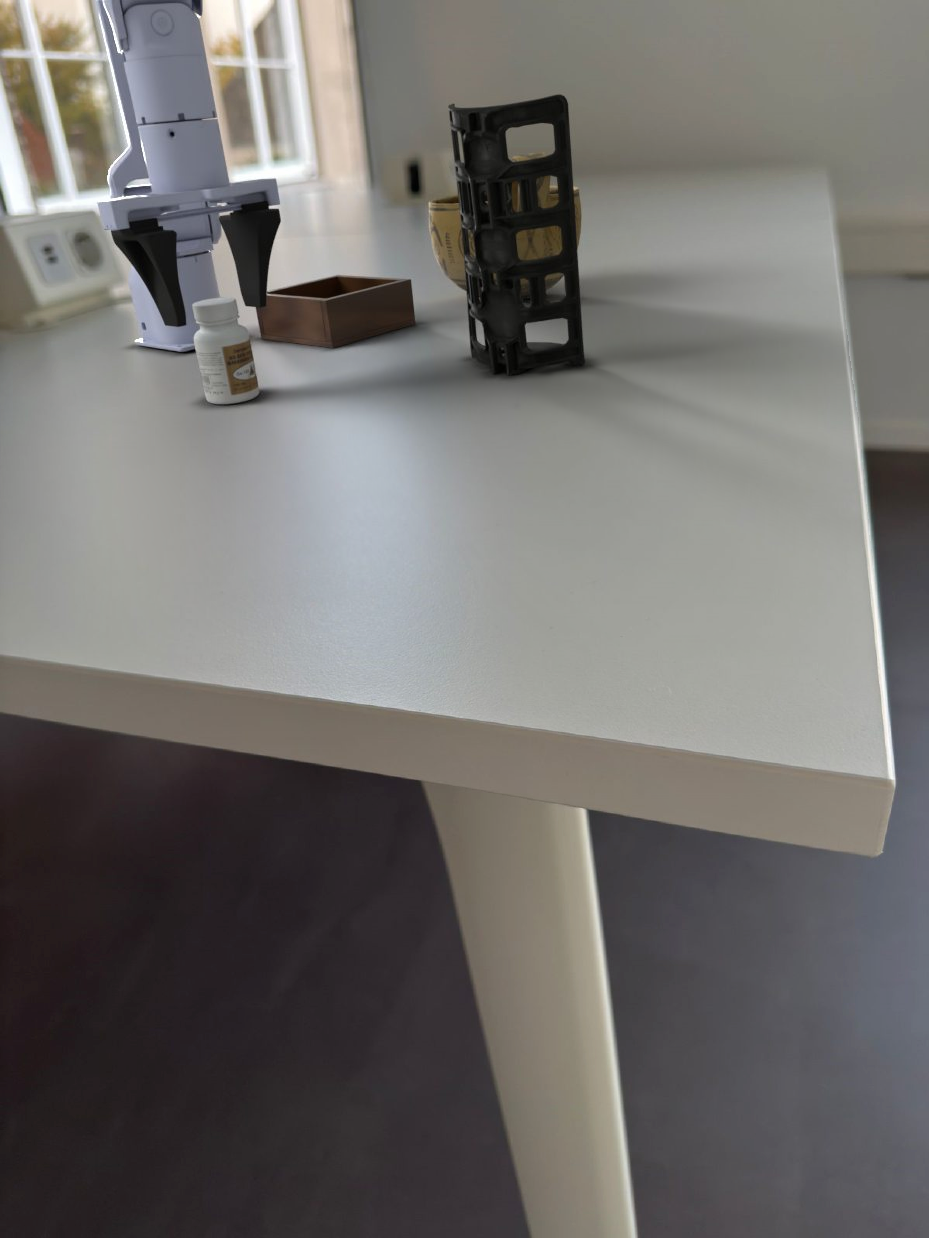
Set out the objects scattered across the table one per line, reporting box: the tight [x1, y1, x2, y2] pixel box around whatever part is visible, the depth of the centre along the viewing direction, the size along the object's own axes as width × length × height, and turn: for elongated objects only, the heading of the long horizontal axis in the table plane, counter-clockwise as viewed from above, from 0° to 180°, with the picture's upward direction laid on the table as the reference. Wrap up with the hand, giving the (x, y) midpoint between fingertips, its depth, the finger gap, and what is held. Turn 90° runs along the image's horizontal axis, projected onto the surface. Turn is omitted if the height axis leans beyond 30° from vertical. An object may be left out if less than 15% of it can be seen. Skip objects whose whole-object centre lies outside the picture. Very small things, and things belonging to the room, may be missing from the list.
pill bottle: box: [192, 296, 260, 405], centre depth 76 cm, size 4×4×8 cm
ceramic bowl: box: [428, 151, 582, 300], centre depth 105 cm, size 22×17×15 cm
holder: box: [447, 93, 586, 376], centre depth 74 cm, size 11×8×20 cm
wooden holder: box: [255, 274, 417, 349], centre depth 98 cm, size 12×12×4 cm
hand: (217, 315), depth 75 cm, fingers open, 7 cm apart
